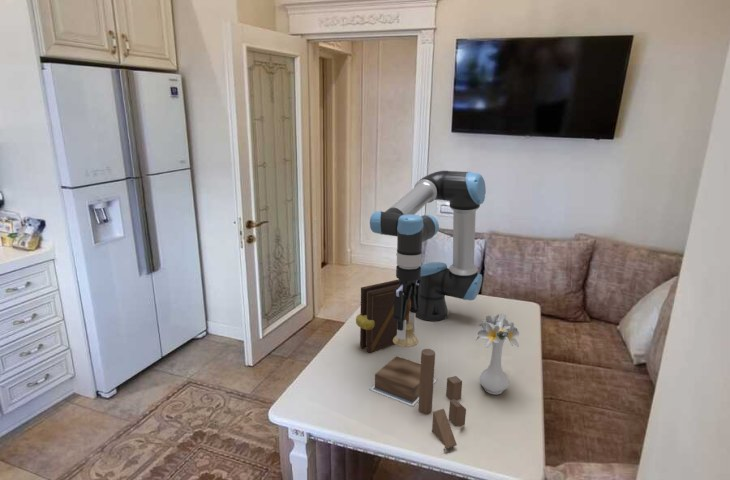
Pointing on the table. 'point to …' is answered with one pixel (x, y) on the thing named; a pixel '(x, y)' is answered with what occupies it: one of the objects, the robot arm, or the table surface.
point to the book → (377, 316)
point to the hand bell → (407, 332)
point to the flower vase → (496, 351)
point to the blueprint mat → (396, 396)
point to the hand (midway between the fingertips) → (405, 334)
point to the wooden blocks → (453, 393)
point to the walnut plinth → (400, 378)
